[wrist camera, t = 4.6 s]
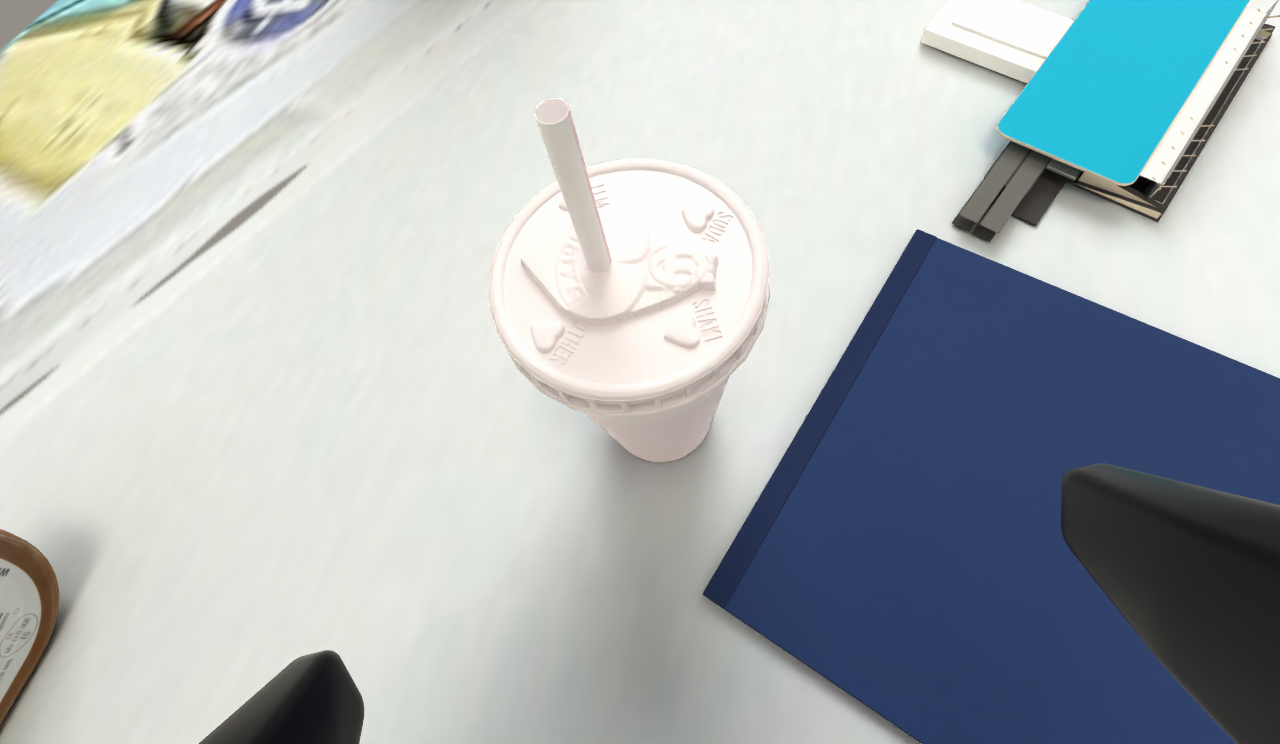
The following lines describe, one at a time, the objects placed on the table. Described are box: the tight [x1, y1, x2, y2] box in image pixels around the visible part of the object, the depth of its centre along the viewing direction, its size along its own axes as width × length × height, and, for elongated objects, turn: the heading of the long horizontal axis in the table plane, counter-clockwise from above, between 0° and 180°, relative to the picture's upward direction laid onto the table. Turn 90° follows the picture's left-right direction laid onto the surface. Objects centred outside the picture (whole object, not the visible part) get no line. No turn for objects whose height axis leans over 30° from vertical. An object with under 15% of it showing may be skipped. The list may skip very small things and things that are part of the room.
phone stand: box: [920, 0, 1280, 241], centre depth 26 cm, size 20×12×2 cm, turn 141°
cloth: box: [703, 229, 1280, 744], centre depth 18 cm, size 16×20×1 cm
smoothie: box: [488, 98, 770, 462], centre depth 16 cm, size 6×6×14 cm
